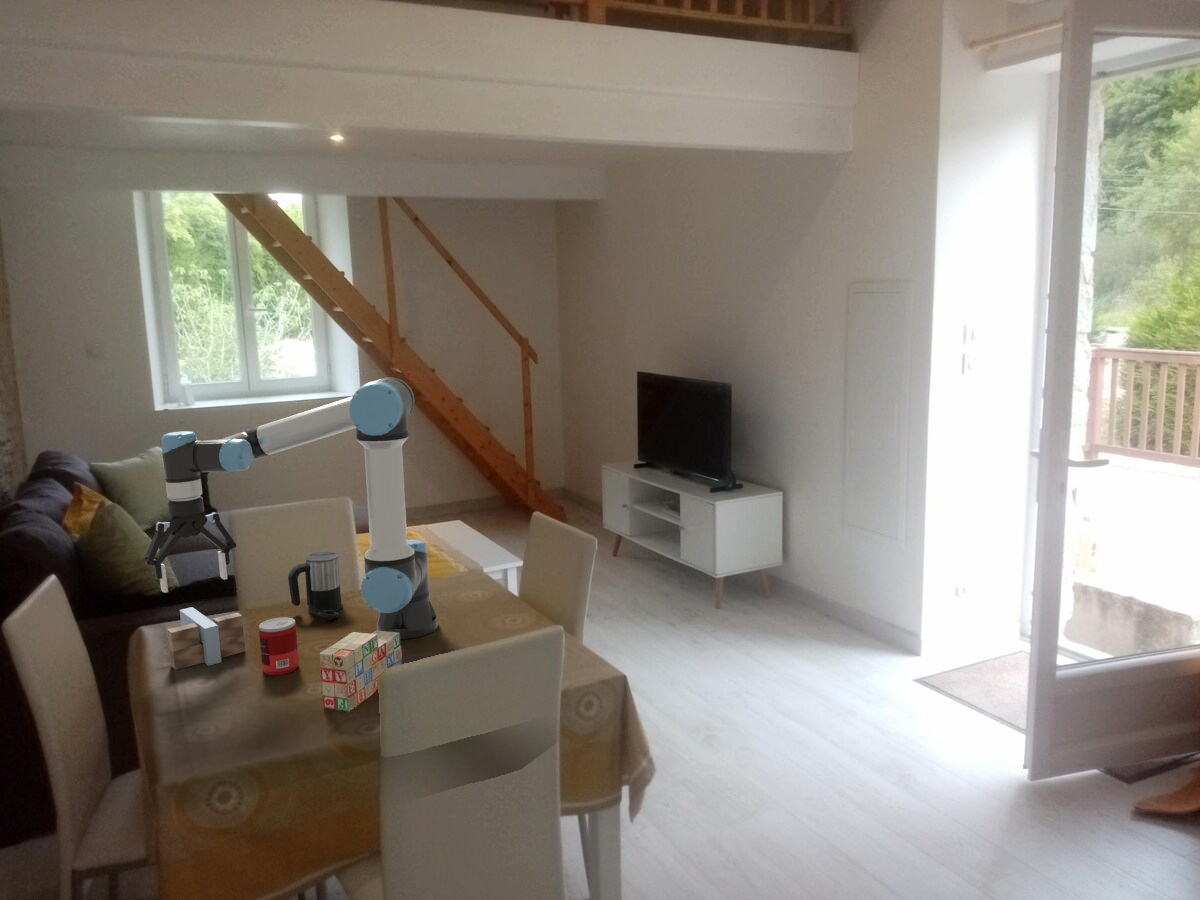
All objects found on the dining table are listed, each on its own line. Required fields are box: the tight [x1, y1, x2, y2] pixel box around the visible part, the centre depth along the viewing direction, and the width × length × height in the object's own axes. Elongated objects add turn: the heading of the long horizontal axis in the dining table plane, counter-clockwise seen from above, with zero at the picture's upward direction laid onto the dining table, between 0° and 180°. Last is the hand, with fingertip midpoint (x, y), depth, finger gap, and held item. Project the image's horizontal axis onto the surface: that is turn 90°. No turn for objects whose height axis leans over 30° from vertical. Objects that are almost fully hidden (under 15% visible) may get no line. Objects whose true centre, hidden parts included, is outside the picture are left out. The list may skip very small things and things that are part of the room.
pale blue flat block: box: [179, 606, 222, 666], centre depth 216 cm, size 18×3×9 cm, turn 42°
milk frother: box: [287, 551, 344, 621], centre depth 242 cm, size 14×16×15 cm
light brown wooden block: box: [167, 612, 246, 671], centre depth 213 cm, size 16×3×9 cm, turn 132°
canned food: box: [258, 616, 299, 676], centre depth 206 cm, size 8×8×11 cm
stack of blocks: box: [319, 630, 403, 712], centre depth 194 cm, size 21×6×12 cm, turn 162°
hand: (194, 584), depth 215 cm, fingers open, 13 cm apart
